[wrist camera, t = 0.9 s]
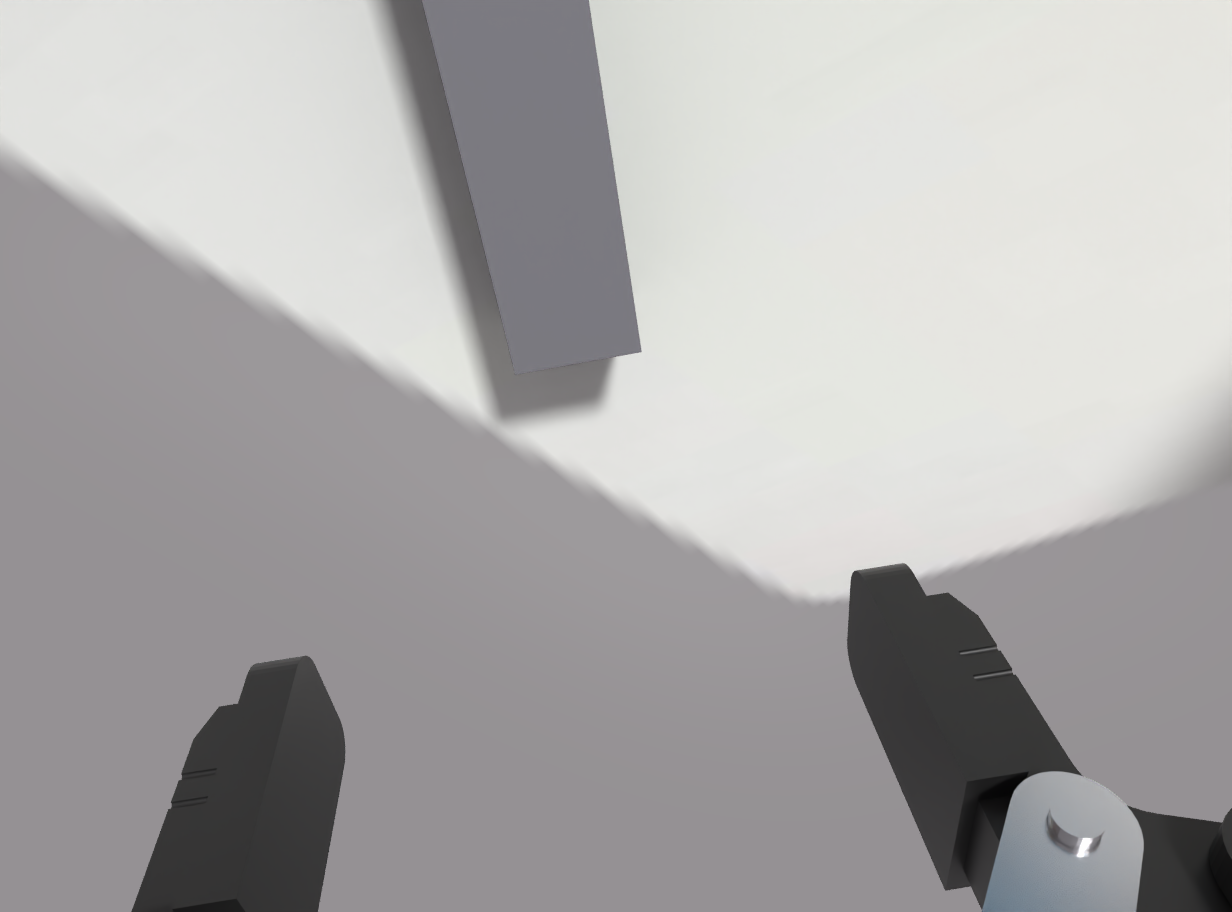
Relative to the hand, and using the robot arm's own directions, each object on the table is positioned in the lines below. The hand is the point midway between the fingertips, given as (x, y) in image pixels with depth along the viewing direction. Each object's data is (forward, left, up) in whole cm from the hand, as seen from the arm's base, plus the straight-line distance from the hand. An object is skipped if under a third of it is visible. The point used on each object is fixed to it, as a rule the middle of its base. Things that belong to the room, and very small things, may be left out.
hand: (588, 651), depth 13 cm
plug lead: (0, -6, -19) cm, 20 cm away
